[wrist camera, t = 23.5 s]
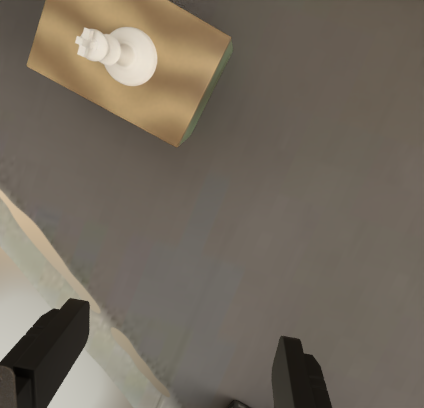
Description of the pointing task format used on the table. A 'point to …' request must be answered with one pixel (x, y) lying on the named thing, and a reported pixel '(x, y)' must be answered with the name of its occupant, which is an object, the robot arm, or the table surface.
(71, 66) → the shelf
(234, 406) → the graphics card box
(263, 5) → the table surface
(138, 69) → the chess piece
